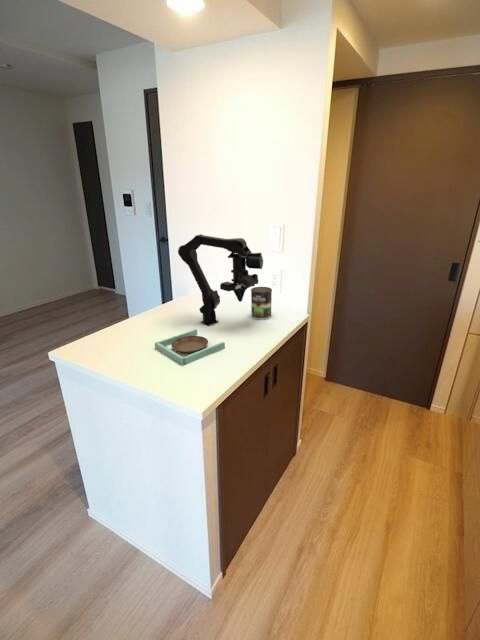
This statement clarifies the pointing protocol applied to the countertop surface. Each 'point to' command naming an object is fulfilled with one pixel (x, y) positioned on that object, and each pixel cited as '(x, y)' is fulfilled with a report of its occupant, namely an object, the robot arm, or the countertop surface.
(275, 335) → the countertop surface
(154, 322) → the countertop surface
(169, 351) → the tray
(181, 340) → the saucer
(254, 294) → the coffee can
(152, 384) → the countertop surface
